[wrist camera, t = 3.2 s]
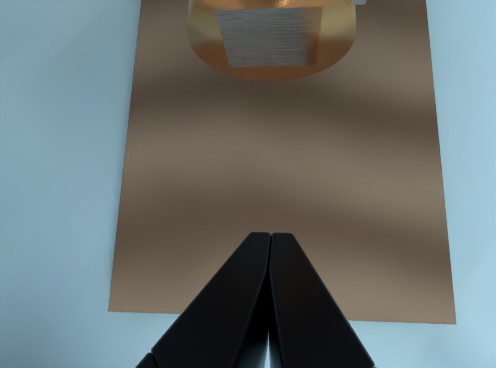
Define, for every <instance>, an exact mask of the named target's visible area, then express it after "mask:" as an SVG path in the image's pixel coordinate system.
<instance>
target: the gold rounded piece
mask: <svg viewBox="0 0 496 368" xmlns="http://www.w3.org/2000/svg"><path fill="white" fill-rule="evenodd" d="M187 37H188V40H189V43H190V45H191V47H192V49H193V51H194V52H195V53H196V55H197V56H198V57H199V58H200V59H201V60H203V61H204V62H205V63H206V64H208V65H209V66H211V67H213V68H214V69H216V70H218V71H220V72H223V73H225V74H228V75H231V76H234V77H238V78H242V79H247V80H254V81H286V80H293V79H299V78H303V77H307V76H310V75H313V74H316V73H318V72H321V71H323V70H325V69H327V68H329V67H330V66H332V65H334V64H335V63H336V62H338V61H339V60H340V59H341V58H343V57H344V56H345V54H346V53H347V52H348V51H349V50H350V48H351V46H352V45H353V43H354V40H355V37H356V9H355V0H189V9H188V22H187Z"/></svg>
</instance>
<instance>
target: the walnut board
mask: <svg viewBox="0 0 496 368" xmlns="http://www.w3.org/2000/svg"><path fill="white" fill-rule="evenodd" d="M188 9H189V0H142V1H141V10H140V19H139V29H138V38H137V47H136V57H135V66H134V75H133V84H132V94H131V103H130V112H129V122H128V131H127V140H126V150H125V159H124V168H123V177H122V187H121V196H120V205H119V215H118V224H117V233H116V243H115V252H114V261H113V271H112V280H111V289H110V298H109V308H108V311H113V312H140V313H167V314H182V312H183V311H184V310H185V309H186V308H187V306H188V305H189V304H190V303H191V302H192V301H193V299H194V298H195V297H196V296H197V295H198V293H199V292H200V291H201V290H202V289H203V288H204V286H205V285H206V284H207V283H208V282H209V281H210V279H211V278H212V277H213V276H214V275H215V273H216V272H217V271H218V270H219V269H220V268H221V266H222V265H223V264H224V263H225V262H226V260H227V259H228V258H229V257H230V256H231V255H232V253H233V252H234V251H235V250H236V249H237V247H238V246H239V245H240V244H241V243H242V242H243V240H244V239H245V238H246V237H247V236H248V234H249V233H251V232H269V233H270V234H271V236H272V234H273V233H275V232H280V233H292V234H293V235H294V236H295V238H296V239H297V241H298V243H299V244H300V246H301V247H302V249H303V251H304V252H305V254H306V255H307V257H308V259H309V260H310V262H311V263H312V265H313V267H314V268H315V270H316V271H317V273H318V274H319V276H320V278H321V279H322V281H323V282H324V284H325V286H326V287H327V289H328V290H329V292H330V294H331V295H332V297H333V298H334V300H335V301H336V303H337V305H338V306H339V308H340V309H341V311H342V313H343V314H344V316H345V317H346V319H347V320H353V321H380V322H407V323H433V324H456V316H455V305H454V295H453V284H452V273H451V263H450V252H449V242H448V231H447V220H446V210H445V199H444V189H443V178H442V167H441V157H440V146H439V136H438V125H437V114H436V104H435V93H434V83H433V72H432V61H431V51H430V40H429V30H428V19H427V8H426V0H366V4H363V5H355V9H356V37H355V40H354V43H353V45H352V46H351V48H350V50H349V51H348V52H347V53H346V54H345V56H344V57H343V58H341V59H340V60H339V61H338V62H336V63H335V64H334V65H332V66H330V67H329V68H327V69H325V70H323V71H321V72H318V73H316V74H313V75H310V76H307V77H303V78H299V79H293V80H286V81H254V80H247V79H242V78H238V77H234V76H231V75H228V74H225V73H223V72H220V71H218V70H216V69H214V68H213V67H211V66H209V65H208V64H206V63H205V62H204V61H203V60H201V59H200V58H199V57H198V56H197V55H196V53H195V52H194V51H193V49H192V47H191V45H190V43H189V40H188V37H187V22H188Z"/></svg>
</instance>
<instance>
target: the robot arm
mask: <svg viewBox="0 0 496 368" xmlns="http://www.w3.org/2000/svg"><path fill="white" fill-rule="evenodd" d="M268 336H269V356H270V368H376V367H375V364H374V362H373V360H372V359H371V357H370V356H369V354H368V352H367V351H366V349H365V348H364V346H363V344H362V343H361V341H360V340H359V338H358V336H357V335H356V333H355V332H354V330H353V328H352V327H351V325H350V324H349V322H348V321H347V319H346V317H345V316H344V314H343V313H342V311H341V309H340V308H339V306H338V305H337V303H336V301H335V300H334V298H333V297H332V295H331V294H330V292H329V290H328V289H327V287H326V286H325V284H324V282H323V281H322V279H321V278H320V276H319V274H318V273H317V271H316V270H315V268H314V267H313V265H312V263H311V262H310V260H309V259H308V257H307V255H306V254H305V252H304V251H303V249H302V247H301V246H300V244H299V243H298V241H297V239H296V238H295V236H294V235H293V234H292V233H280V232H275V233H273V234H272V236H271V234H270V233H269V232H251V233H249V234H248V236H247V237H246V238H245V239H244V240H243V242H242V243H241V244H240V245H239V246H238V247H237V249H236V250H235V251H234V252H233V253H232V255H231V256H230V257H229V258H228V259H227V260H226V262H225V263H224V264H223V265H222V266H221V268H220V269H219V270H218V271H217V272H216V273H215V275H214V276H213V277H212V278H211V279H210V281H209V282H208V283H207V284H206V285H205V286H204V288H203V289H202V290H201V291H200V292H199V293H198V295H197V296H196V297H195V298H194V299H193V301H192V302H191V303H190V304H189V305H188V306H187V308H186V309H185V310H184V311H183V312H182V314H181V315H180V316H179V317H178V318H177V319H176V321H175V322H174V323H173V324H172V325H171V327H170V328H169V329H168V330H167V331H166V332H165V334H164V335H163V336H162V337H161V338H160V340H159V341H158V342H157V343H156V344H155V345H154V347H153V348H152V349H151V353H147V354H146V356H145V357H144V358H143V359H142V360H141V362H140V363H139V364H138V365H137V366H136V368H264V366H265V360H266V354H267V347H268Z"/></svg>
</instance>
